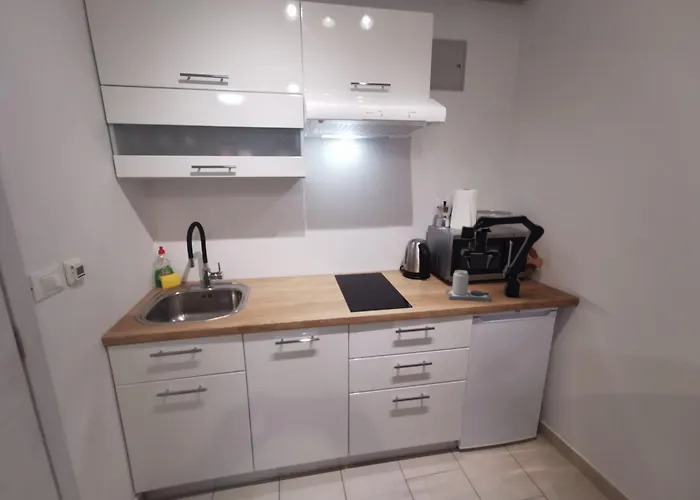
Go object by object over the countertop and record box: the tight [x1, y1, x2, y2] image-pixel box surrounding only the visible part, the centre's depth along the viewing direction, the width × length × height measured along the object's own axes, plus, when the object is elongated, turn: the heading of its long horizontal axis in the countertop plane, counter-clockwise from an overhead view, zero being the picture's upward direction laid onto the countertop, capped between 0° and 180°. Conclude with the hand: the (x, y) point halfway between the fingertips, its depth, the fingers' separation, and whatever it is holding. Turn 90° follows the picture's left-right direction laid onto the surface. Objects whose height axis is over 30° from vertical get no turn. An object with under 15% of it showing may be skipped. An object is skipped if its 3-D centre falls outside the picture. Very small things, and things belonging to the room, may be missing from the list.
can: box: [451, 269, 470, 295], centre depth 169 cm, size 8×8×12 cm
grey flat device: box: [445, 289, 491, 302], centre depth 170 cm, size 21×10×3 cm, turn 84°
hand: (478, 268), depth 175 cm, fingers open, 9 cm apart
